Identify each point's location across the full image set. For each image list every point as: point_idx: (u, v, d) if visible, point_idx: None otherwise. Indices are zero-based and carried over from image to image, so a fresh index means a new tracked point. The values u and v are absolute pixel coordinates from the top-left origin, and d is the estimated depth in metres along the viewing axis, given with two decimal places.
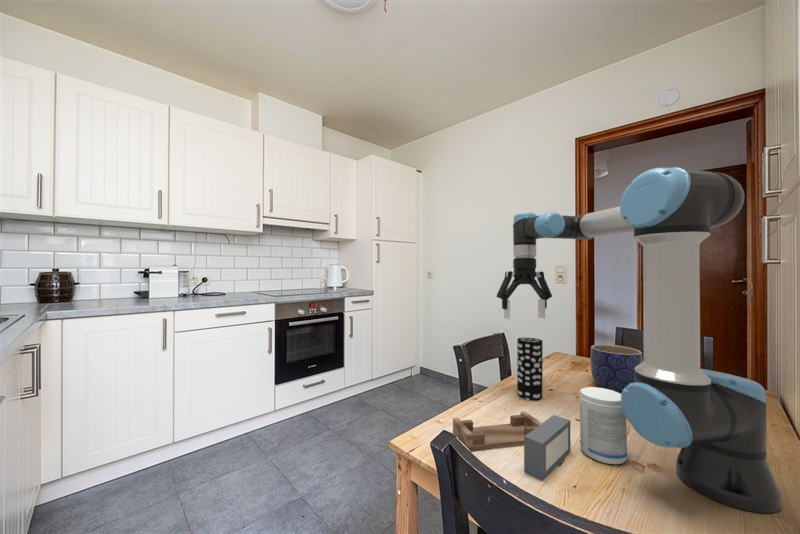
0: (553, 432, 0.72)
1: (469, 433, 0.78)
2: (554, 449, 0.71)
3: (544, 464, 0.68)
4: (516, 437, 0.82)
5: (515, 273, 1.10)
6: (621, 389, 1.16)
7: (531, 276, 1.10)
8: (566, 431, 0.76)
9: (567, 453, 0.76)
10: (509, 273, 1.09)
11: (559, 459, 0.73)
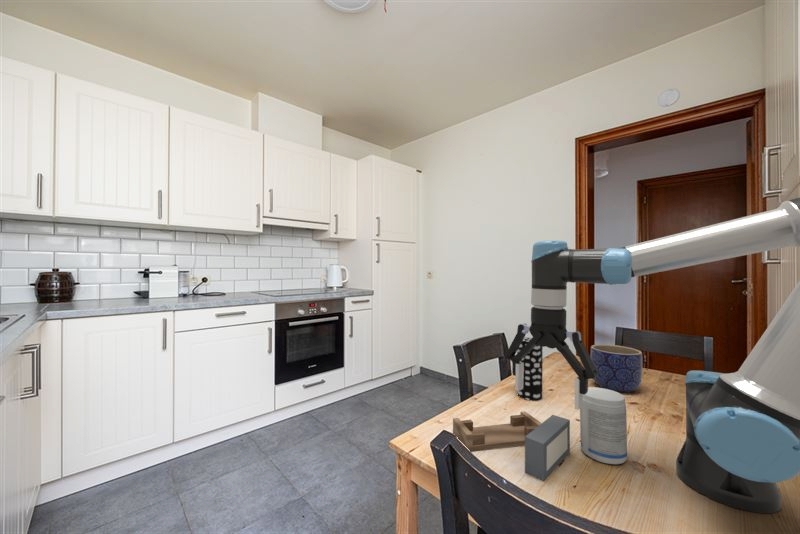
0: (553, 432, 0.72)
1: (469, 433, 0.78)
2: (554, 449, 0.71)
3: (545, 464, 0.68)
4: (516, 437, 0.82)
5: (529, 328, 0.77)
6: (621, 389, 1.16)
7: (550, 337, 0.72)
8: (566, 431, 0.76)
9: (566, 453, 0.77)
10: (518, 327, 0.79)
11: (559, 459, 0.73)
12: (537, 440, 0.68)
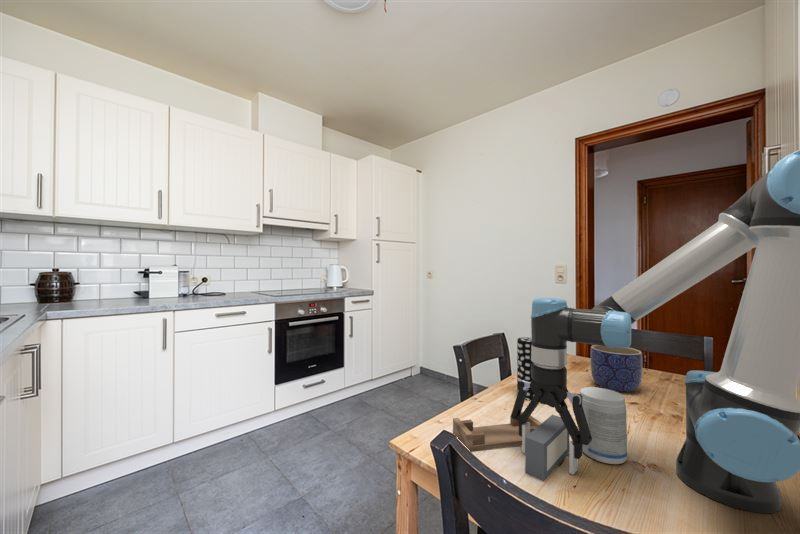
0: (553, 432, 0.72)
1: (469, 433, 0.78)
2: (554, 449, 0.71)
3: (545, 464, 0.68)
4: (516, 437, 0.82)
5: (530, 385, 0.77)
6: (621, 389, 1.16)
7: (551, 396, 0.72)
8: (565, 431, 0.76)
9: (566, 453, 0.77)
10: (519, 384, 0.78)
11: (559, 459, 0.73)
12: (537, 440, 0.68)
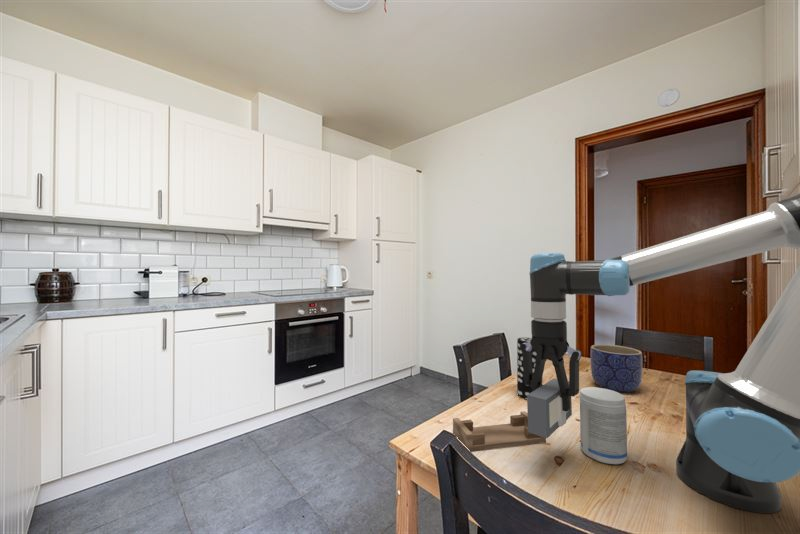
0: (555, 391, 0.72)
1: (469, 433, 0.78)
2: (557, 407, 0.71)
3: (548, 420, 0.68)
4: (516, 437, 0.82)
5: (530, 343, 0.77)
6: (621, 389, 1.16)
7: (551, 350, 0.72)
8: None
9: (568, 414, 0.77)
10: (521, 347, 0.78)
11: None
12: (539, 397, 0.68)
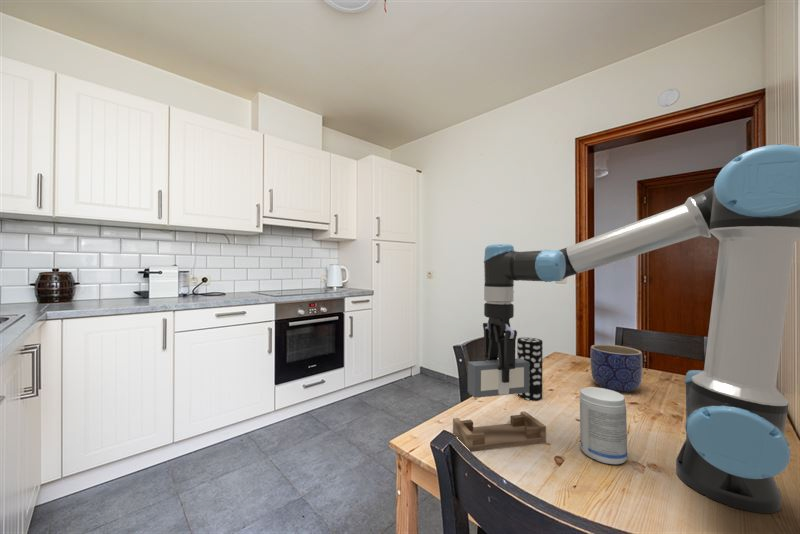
0: (497, 364, 0.83)
1: (469, 433, 0.78)
2: (497, 377, 0.82)
3: (478, 384, 0.81)
4: (516, 437, 0.82)
5: None
6: (621, 389, 1.16)
7: (494, 328, 0.83)
8: (520, 369, 0.84)
9: (522, 390, 0.84)
10: (483, 326, 0.91)
11: None
12: (473, 364, 0.82)
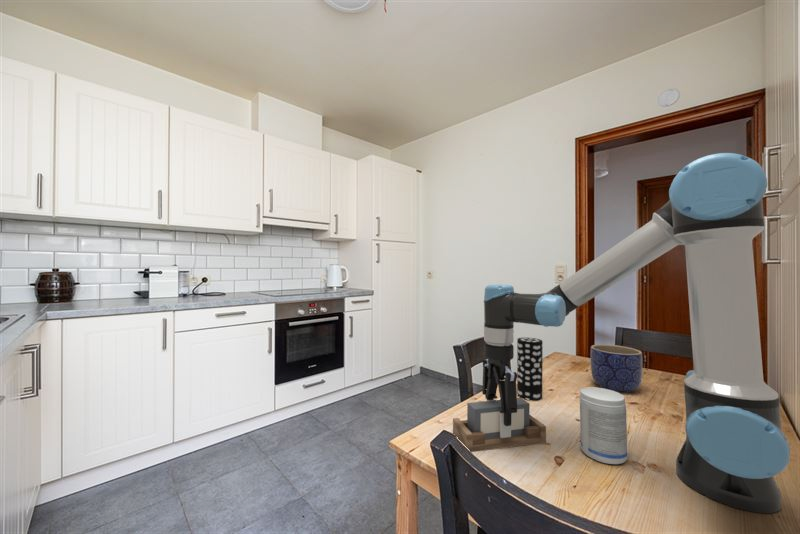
0: (497, 406, 0.83)
1: (469, 433, 0.78)
2: (496, 420, 0.82)
3: (478, 427, 0.81)
4: (516, 437, 0.82)
5: None
6: (621, 389, 1.16)
7: (494, 369, 0.83)
8: (520, 411, 0.84)
9: (522, 432, 0.84)
10: None
11: None
12: (473, 406, 0.82)
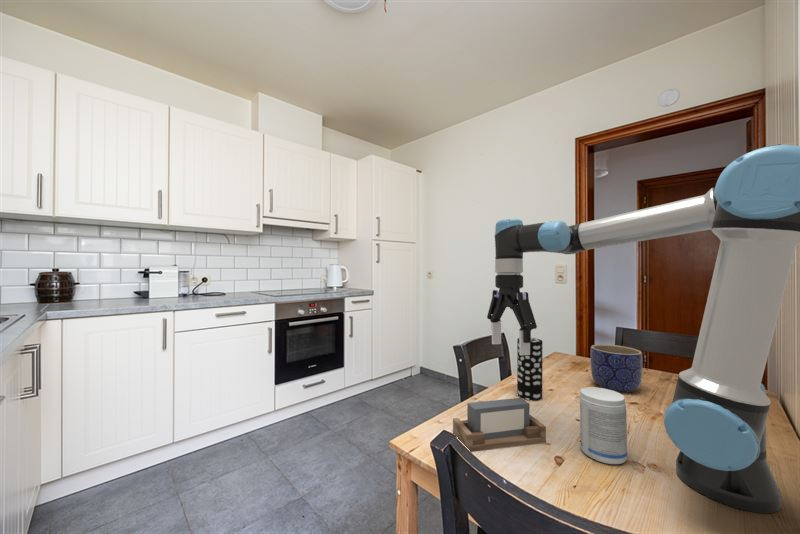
0: (497, 406, 0.83)
1: (469, 433, 0.78)
2: (496, 420, 0.82)
3: (478, 427, 0.81)
4: (516, 437, 0.82)
5: None
6: (621, 389, 1.16)
7: (506, 297, 0.89)
8: (520, 411, 0.84)
9: (522, 432, 0.84)
10: (493, 292, 0.97)
11: (506, 432, 0.83)
12: (473, 406, 0.82)
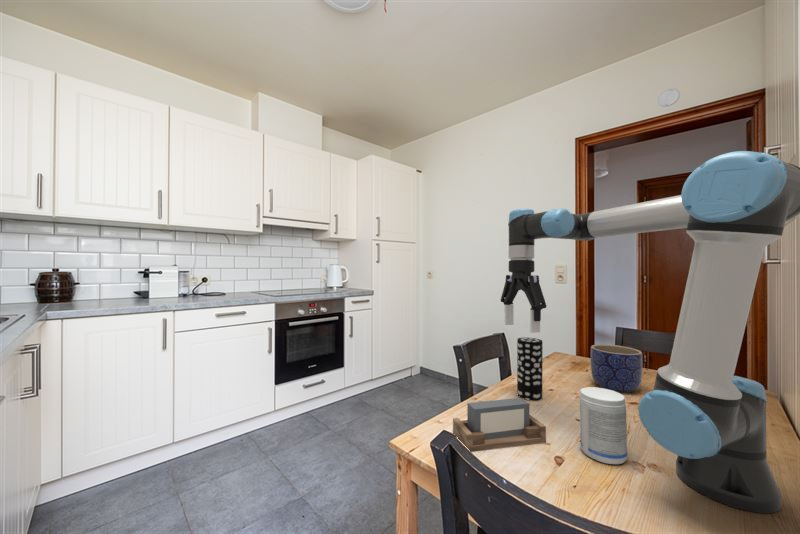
0: (497, 406, 0.83)
1: (469, 433, 0.78)
2: (496, 420, 0.82)
3: (478, 427, 0.81)
4: (516, 437, 0.82)
5: None
6: (621, 389, 1.16)
7: (518, 280, 0.97)
8: (520, 411, 0.84)
9: (522, 432, 0.84)
10: (506, 277, 1.05)
11: (506, 432, 0.83)
12: (473, 406, 0.82)
